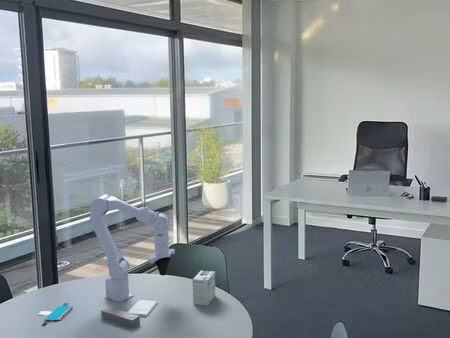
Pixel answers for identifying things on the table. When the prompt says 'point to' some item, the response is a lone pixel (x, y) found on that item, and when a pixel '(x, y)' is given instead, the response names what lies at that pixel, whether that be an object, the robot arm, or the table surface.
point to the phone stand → (56, 313)
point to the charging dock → (120, 317)
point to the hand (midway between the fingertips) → (162, 274)
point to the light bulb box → (203, 287)
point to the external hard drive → (143, 307)
